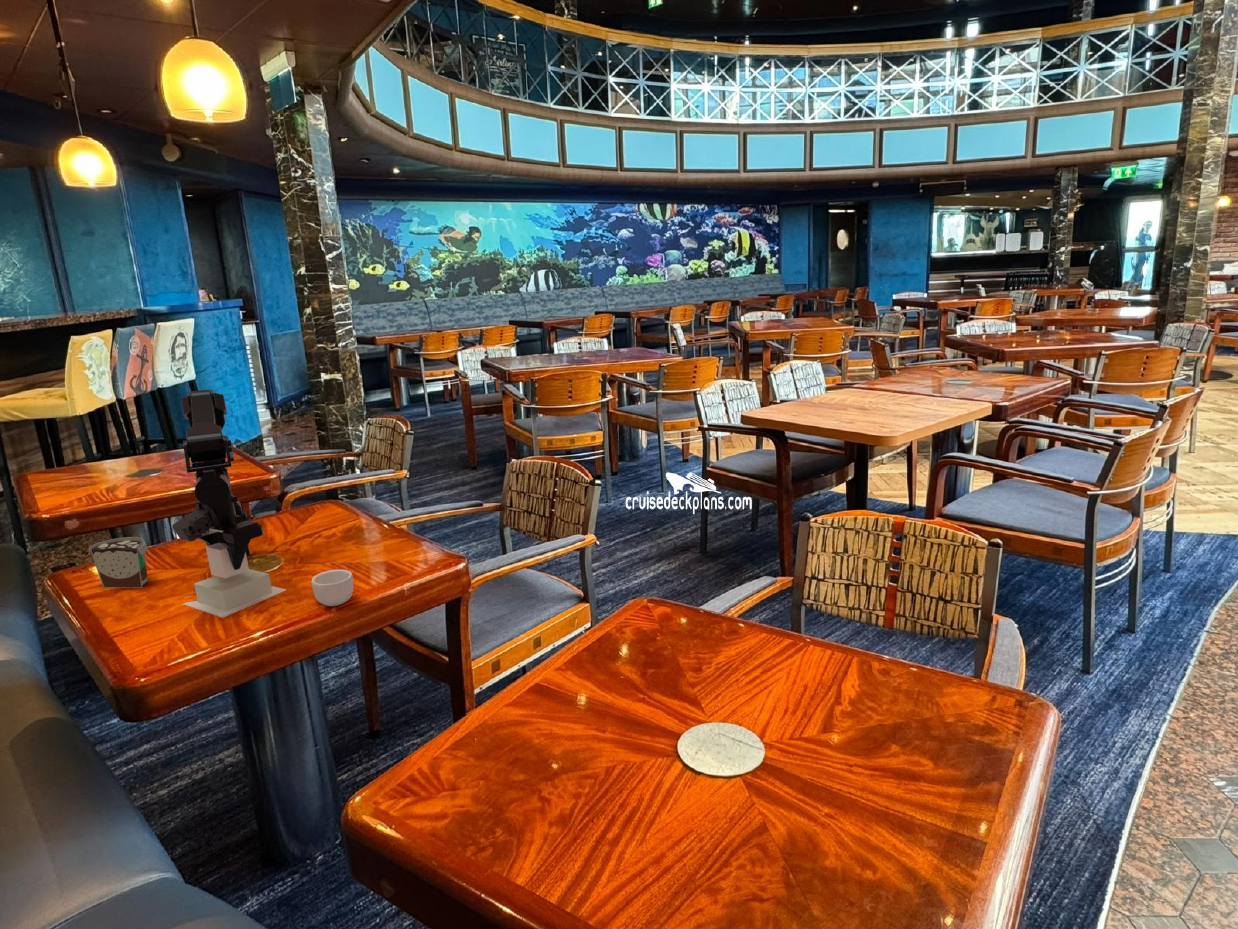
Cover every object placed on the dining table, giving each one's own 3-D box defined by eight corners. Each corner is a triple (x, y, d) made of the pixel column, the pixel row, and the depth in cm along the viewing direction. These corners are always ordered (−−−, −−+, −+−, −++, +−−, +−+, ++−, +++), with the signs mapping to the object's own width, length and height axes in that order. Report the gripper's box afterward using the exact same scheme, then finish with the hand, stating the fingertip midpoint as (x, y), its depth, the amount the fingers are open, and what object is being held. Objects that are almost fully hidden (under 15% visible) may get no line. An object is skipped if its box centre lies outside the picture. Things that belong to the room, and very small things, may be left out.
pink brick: (234, 566, 154) (229, 539, 152) (248, 569, 151) (243, 542, 150) (211, 574, 150) (205, 546, 148) (225, 578, 147) (220, 550, 146)
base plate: (247, 583, 161) (246, 579, 161) (287, 594, 154) (286, 589, 154) (183, 608, 150) (182, 604, 150) (223, 621, 143) (222, 616, 143)
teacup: (363, 598, 150) (360, 574, 148) (329, 613, 144) (325, 588, 143) (335, 588, 156) (331, 564, 154) (301, 601, 150) (297, 577, 148)
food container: (167, 577, 168) (158, 535, 165) (148, 588, 162) (139, 545, 160) (118, 577, 169) (108, 536, 167) (97, 588, 163) (86, 546, 161)
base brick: (243, 584, 159) (240, 566, 158) (272, 591, 153) (268, 573, 153) (197, 601, 150) (194, 583, 149) (226, 610, 145) (222, 591, 144)
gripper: (148, 500, 145) (164, 574, 149) (202, 510, 135) (218, 589, 139) (204, 485, 154) (217, 555, 158) (258, 494, 144) (271, 569, 148)
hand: (229, 567), depth 150 cm, fingers closed on pink brick, 5 cm apart
